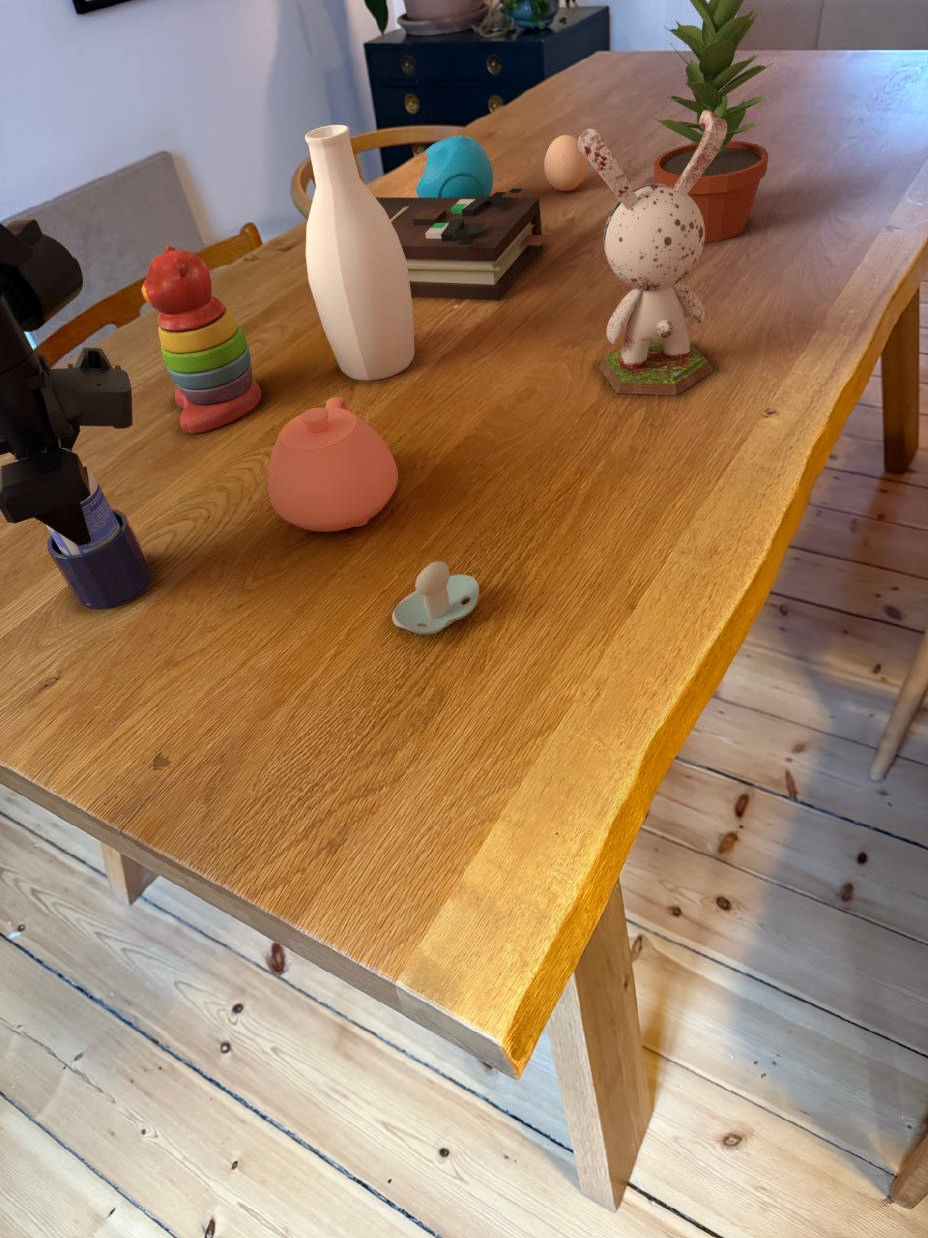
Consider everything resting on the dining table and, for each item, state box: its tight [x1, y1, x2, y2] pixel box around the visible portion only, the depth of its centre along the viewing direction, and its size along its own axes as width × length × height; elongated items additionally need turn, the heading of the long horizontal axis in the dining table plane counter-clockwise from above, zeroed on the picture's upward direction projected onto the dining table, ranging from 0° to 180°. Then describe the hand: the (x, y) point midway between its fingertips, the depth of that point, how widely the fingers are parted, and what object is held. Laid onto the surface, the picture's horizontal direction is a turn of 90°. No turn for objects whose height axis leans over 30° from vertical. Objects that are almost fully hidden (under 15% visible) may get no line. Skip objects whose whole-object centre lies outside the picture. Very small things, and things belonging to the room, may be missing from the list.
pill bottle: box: [45, 448, 121, 556], centre depth 76 cm, size 5×5×10 cm
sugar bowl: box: [267, 396, 399, 533], centre depth 83 cm, size 12×14×10 cm
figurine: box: [577, 110, 727, 397], centre depth 88 cm, size 14×12×25 cm
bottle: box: [304, 124, 415, 382], centre depth 98 cm, size 11×11×25 cm
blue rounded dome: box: [415, 134, 494, 198], centre depth 134 cm, size 12×11×12 cm
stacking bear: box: [140, 245, 262, 435], centre depth 99 cm, size 11×10×18 cm
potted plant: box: [653, 0, 774, 243], centre depth 112 cm, size 15×15×30 cm
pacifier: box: [391, 560, 480, 635], centre depth 71 cm, size 7×6×6 cm
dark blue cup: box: [46, 508, 153, 610], centre depth 80 cm, size 7×7×6 cm
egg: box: [543, 134, 588, 192], centre depth 138 cm, size 7×7×8 cm
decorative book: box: [375, 187, 550, 301], centre depth 122 cm, size 19×8×30 cm
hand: (82, 525), depth 78 cm, fingers closed on pill bottle, 5 cm apart
